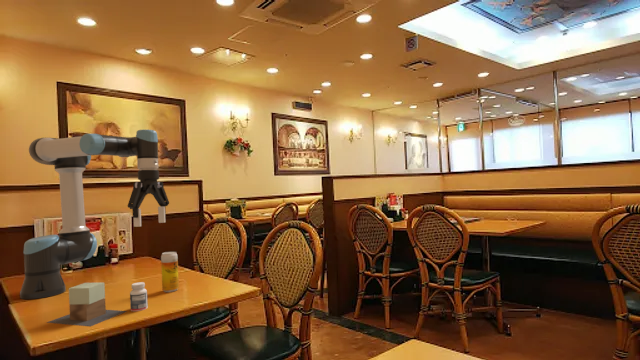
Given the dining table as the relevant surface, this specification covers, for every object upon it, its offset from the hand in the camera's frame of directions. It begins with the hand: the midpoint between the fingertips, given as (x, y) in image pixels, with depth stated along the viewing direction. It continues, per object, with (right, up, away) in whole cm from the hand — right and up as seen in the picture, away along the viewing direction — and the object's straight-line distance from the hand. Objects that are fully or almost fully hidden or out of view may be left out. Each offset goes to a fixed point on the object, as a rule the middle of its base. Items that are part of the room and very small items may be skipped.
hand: (150, 224), depth 151 cm
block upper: (-9, -22, -26) cm, 35 cm away
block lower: (-9, -27, -26) cm, 38 cm away
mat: (-9, -27, -26) cm, 38 cm away
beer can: (+6, -27, +4) cm, 28 cm away
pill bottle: (+5, -27, -20) cm, 34 cm away
